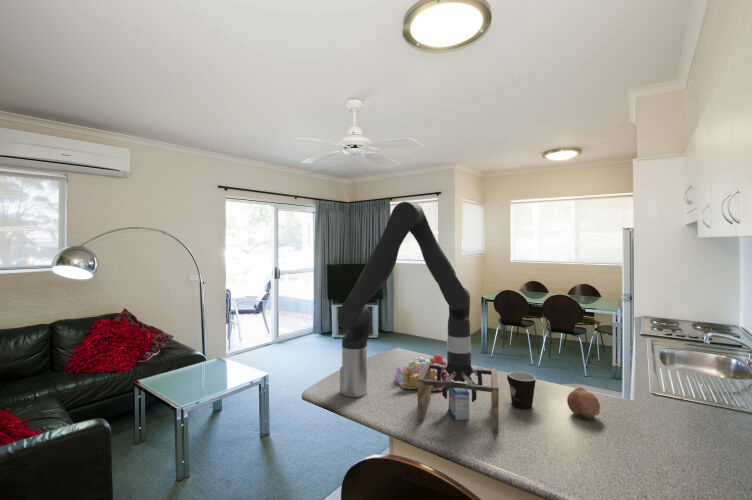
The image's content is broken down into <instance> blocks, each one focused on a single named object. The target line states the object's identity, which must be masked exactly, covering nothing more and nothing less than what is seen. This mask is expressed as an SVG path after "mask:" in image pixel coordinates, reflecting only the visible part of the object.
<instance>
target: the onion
mask: <svg viewBox="0 0 752 500" xmlns="http://www.w3.org/2000/svg"><path fill="white" fill-rule="evenodd" d="M566 402H567V406H568V409H569V410H570V411H571V413H573V414H574V415H576V416H577V417H579V418H580V419H584V420H588V419H589V420H590V419H594V417H596V416H599V414H600V412H601V411H600V409H601V404H600V402H599V400H598V398H597V397H596V395H594V394H593V393H591V392H590V391H588V390H586V389H584V388H583V387H580V386H579V387H577V388H575V389H574V390H572V391H571V392H569V394H568V395H567V399H566Z"/></svg>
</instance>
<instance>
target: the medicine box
mask: <svg viewBox="0 0 752 500" xmlns="http://www.w3.org/2000/svg"><path fill="white" fill-rule="evenodd" d="M448 409H449V411H450V413H451V414H452V416H453V418H454V419H455V420H456V421H463V420H465V421H466V420H470V392H469V390H468V389H460V388H451V387H449V388H448Z"/></svg>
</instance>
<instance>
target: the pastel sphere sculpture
mask: <svg viewBox="0 0 752 500" xmlns="http://www.w3.org/2000/svg"><path fill="white" fill-rule="evenodd" d="M443 359H444V358H443V356H442V355H441V353H440V354H439V353H436V354H434V355H433V357H431V358H429V359H424V358H423V357H421V356H419V357H415V358H413V359H412V360H410V361H408V363H407V364H408V365H407V366H405V365H404V366H403V368H401V366H396V368H395V374H394V381H395V380H396V381H395V383H396V382H397V383H396V384H398V385H399V386H400V387H401V388H402V389H406V390H418V378H419V376H420V374H421V372H422V370H423V368H424V366H425V364H426V362H430V363H431V364H434V365H439V364H441V365H445V366H447V361H445V360H443ZM448 375H449V374H448V373H447V371H446V370H444V372H443V373H441V380H442V381H444V380H445V379H446V378H447V376H448ZM431 380H437V369H431ZM450 382H454V380H451V381H450ZM447 389H449V387H447ZM436 391H442V386H433V385H431V392H436Z"/></svg>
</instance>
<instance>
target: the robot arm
mask: <svg viewBox="0 0 752 500" xmlns="http://www.w3.org/2000/svg"><path fill="white" fill-rule="evenodd" d="M430 226H431V225H430V224H429V221H428V219H427V216H426V214H425V212H424V210H423V207H422V206H421V205H420V204H419V203H417V202H412V201H402V202H399V203H398V204H396V205H395V206H394V208H393V209H392V211H391V213H390V215H389V218H388V220H387V222H386V226H385V228H384V231H383V233H382V235H381V237H380V239H379V240H378V242H377V244H376V246H375V247H374V248H373V250H372V253H371V254H370V256H369V258H368V260H367V261H366V263H365V266H364V267H363V269H362V271H361V273H360V275H359V277H358V279H357V280H356V282H355V284H354V287H352V290H351V291H350V293H349V294H348V296H347V297H346V299H345V300H344V301H343V303H342V304H341V306H340V307H339V309H338V311H337V322H338V325H339V326H340V328H342V329H344V330H347V333H345V335H344V336H343V338H342V340H341V366H340V368H339V394H340V395H343V396H345V397H347V398H360V397H363V396H365V395H366V394H367V393H368V342H369V341H368V340H369V338H370V327H371V326H370V324H371V315H370V309H369V308H368V306H367V303H369V301H370V300H371V298H372V297H373V296H374V295H375V294H376V293H377V292H378V291H379V290H380V289H381V288H382V287H383V286H384V285H385V284H386V283H387V281H388V279H389V277H390V276H391V274H392V272H393V270H394V268H395V266H396V263H397V259H398V254H399V251H400V247H402V246H401V245H402V244H403V242H404V241H405V239H406V237H407V235H408V234H409V233H410V234H411V235H412V237H414V239H415V241H416V243H417V244H418V246H419V249H420V252H421V254H422V255H421V256H422V258H423V261H424V262H425V265H426V267H427V269H428V271H429V272H430V274H431V276H432V277H433V279H434V280H435V282H436V283H437V286H438V287H439V289H440V291H441V294H442V297H443V298H444V300H445V303H447V305H448V319H447V339H446V366H442V365H441V364H437V365H438V367H437V381H442V380H441V373H443V372H444V371H445V370H446V371H447V373H448V374H449V375H448V376H447V378H446V379H445V380H444V381H446V382H450V381H451V380H452V381H453V382H460V383H464V382H466V384H473V385H482V386H483V374H482V372H481V369H482V368H481V367H478V368H476V369H472V368H473V367H472V341H471V322H470V314H471V313H470V312H471V311H470V308H471V294H470V292H469V290H468V289H467V288H466V287H464V286H463V284H462V283H461V281H460V280H459V279H458V277H457V273H456V271H455V268H453V266H452V264H451V262H450V260H449V259H448V257H447V256H446V254H445V252H444V251H443V249H442V247H441V246H440V244H439V243H438V241H437V239H436V236H435V235H434V233H433V231H432V229H431V227H430ZM446 371H445V372H446ZM472 374H474V375H475V376H476V377H477V383H475V381H474V379H473V378H472V377H471V376H472ZM441 392H442V395H441V396H442V397H444V400H447V399H448V388H447V387H442V390H441ZM476 400H477V390H471V402H472V403H475V401H476Z"/></svg>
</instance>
